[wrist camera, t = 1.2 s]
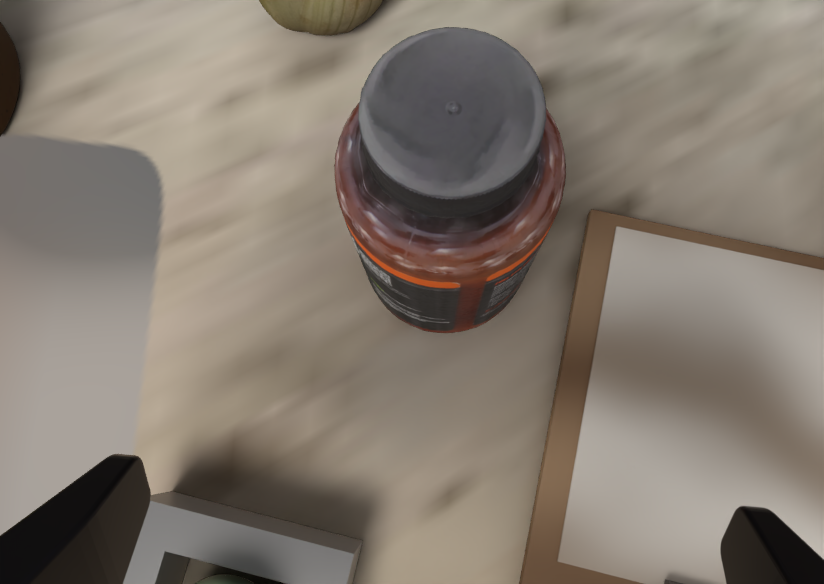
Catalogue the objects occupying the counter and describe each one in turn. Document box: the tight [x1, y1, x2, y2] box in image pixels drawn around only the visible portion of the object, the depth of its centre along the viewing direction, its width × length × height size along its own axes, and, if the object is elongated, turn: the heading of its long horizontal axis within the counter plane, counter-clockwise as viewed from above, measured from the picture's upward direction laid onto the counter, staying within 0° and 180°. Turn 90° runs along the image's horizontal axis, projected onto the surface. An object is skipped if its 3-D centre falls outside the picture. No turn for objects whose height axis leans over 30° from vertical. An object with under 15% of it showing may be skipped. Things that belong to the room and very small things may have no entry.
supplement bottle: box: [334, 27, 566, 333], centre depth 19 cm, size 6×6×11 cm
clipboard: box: [519, 209, 824, 584], centre depth 22 cm, size 14×14×1 cm
